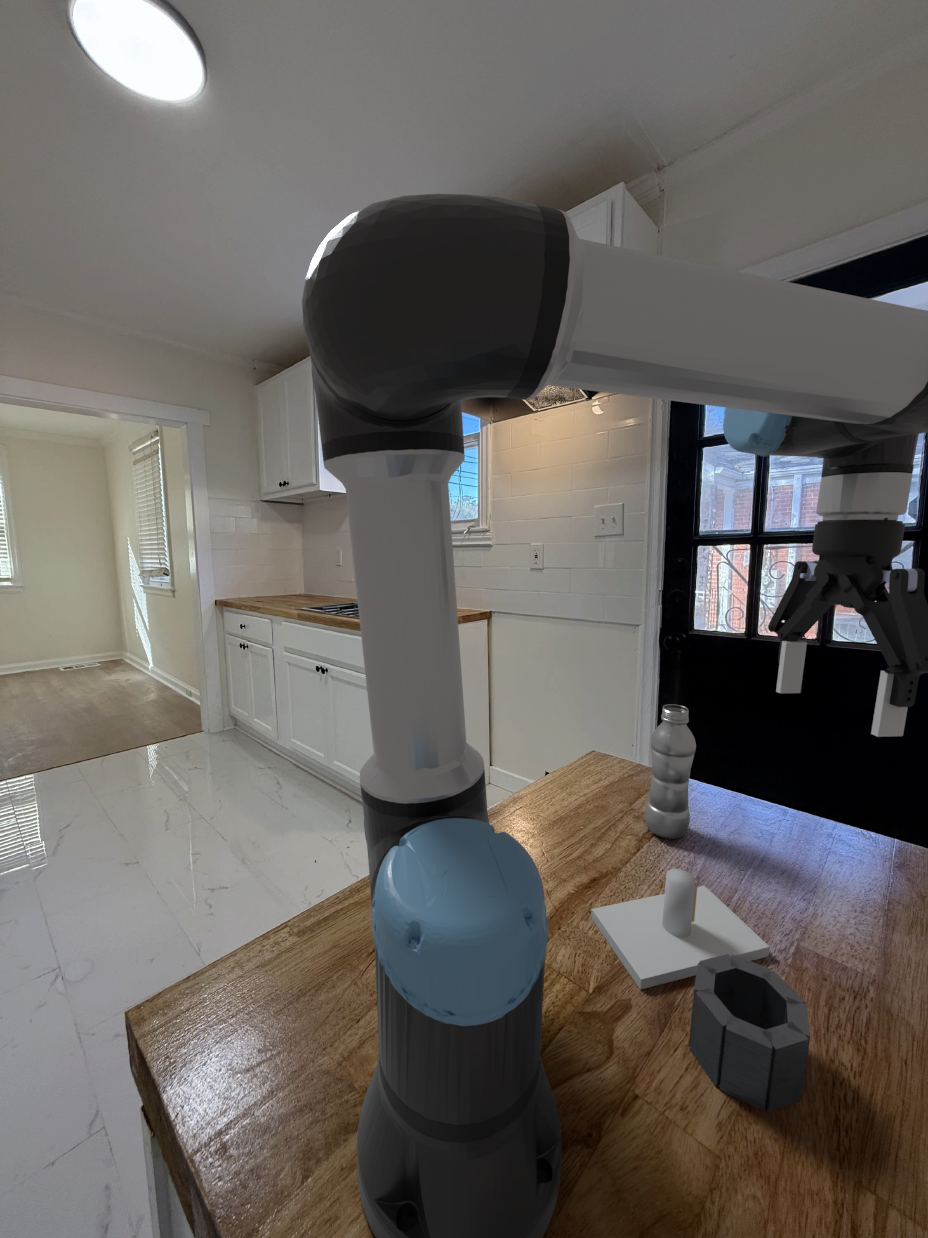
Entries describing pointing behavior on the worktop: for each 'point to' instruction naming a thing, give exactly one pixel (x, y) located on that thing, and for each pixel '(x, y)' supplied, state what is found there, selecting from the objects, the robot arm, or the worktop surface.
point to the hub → (749, 1032)
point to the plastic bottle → (670, 774)
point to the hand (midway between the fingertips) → (831, 711)
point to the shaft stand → (675, 932)
